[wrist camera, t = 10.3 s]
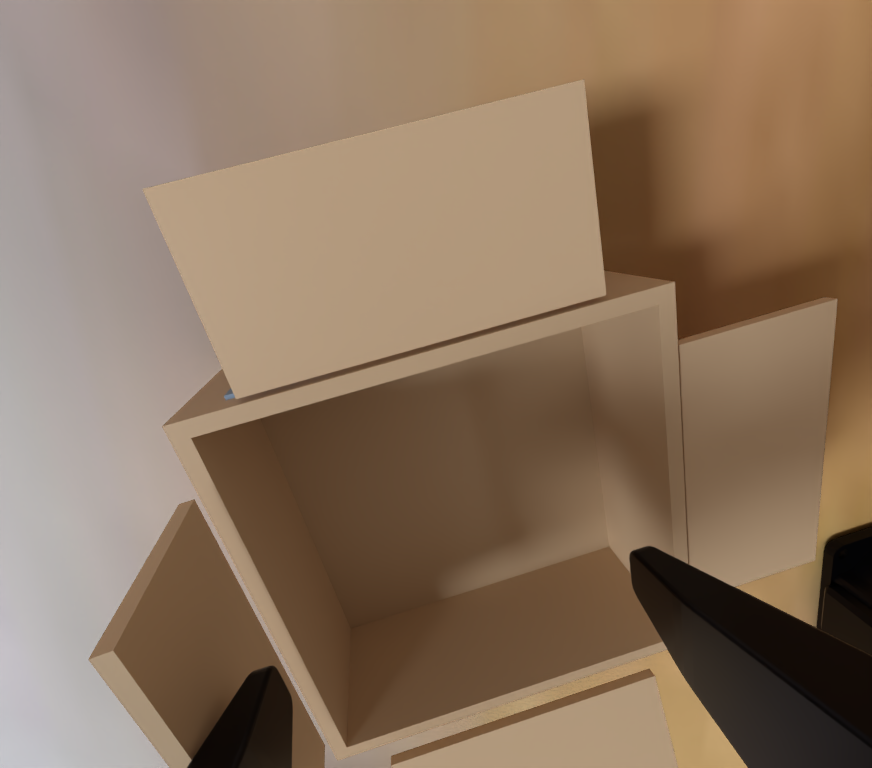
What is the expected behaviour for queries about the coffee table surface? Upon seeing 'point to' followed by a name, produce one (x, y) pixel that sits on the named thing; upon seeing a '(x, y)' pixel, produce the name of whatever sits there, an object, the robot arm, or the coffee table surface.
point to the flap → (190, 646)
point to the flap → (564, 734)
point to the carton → (471, 415)
